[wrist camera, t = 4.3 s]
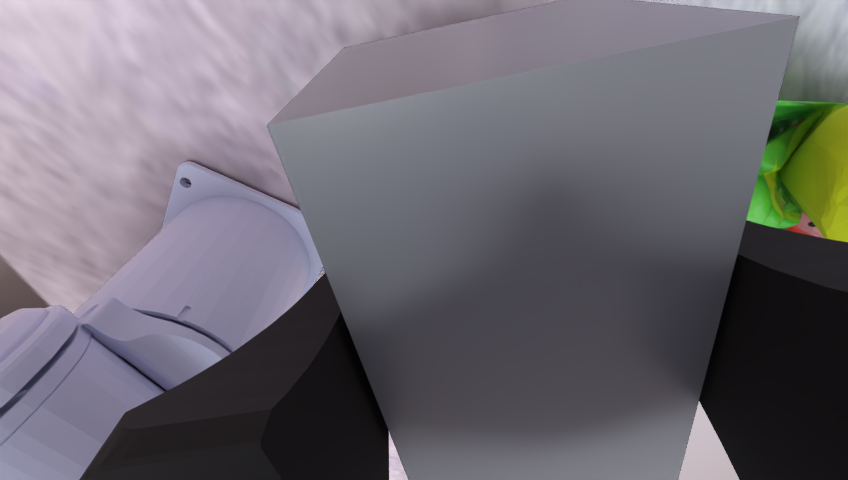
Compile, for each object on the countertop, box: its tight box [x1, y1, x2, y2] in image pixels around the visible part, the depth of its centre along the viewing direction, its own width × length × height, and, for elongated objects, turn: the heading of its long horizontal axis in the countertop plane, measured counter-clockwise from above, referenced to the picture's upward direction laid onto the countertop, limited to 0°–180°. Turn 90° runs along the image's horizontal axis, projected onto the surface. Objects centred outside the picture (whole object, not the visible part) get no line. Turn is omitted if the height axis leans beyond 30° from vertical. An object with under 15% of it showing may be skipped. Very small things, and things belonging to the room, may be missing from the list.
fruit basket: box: [746, 100, 848, 242], centre depth 15 cm, size 11×9×11 cm
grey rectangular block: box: [267, 0, 800, 480], centre depth 10 cm, size 11×6×7 cm, turn 11°
